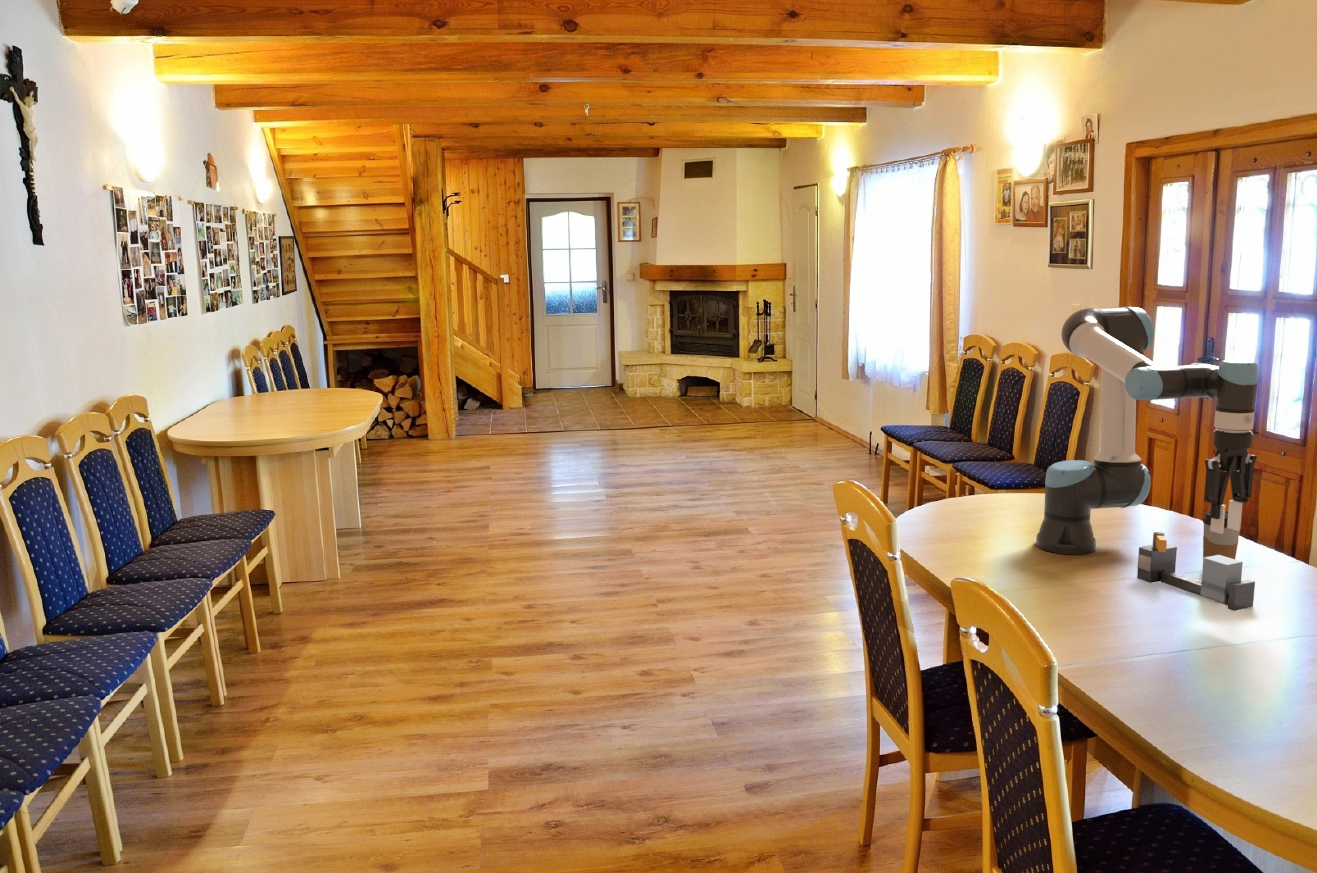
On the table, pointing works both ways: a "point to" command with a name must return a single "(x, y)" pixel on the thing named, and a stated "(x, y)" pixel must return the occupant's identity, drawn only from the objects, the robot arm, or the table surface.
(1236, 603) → the square post base
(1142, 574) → the end cabinet
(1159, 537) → the lever
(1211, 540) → the coffee cup
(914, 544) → the table surface
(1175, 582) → the rail
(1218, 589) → the block
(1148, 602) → the table surface
